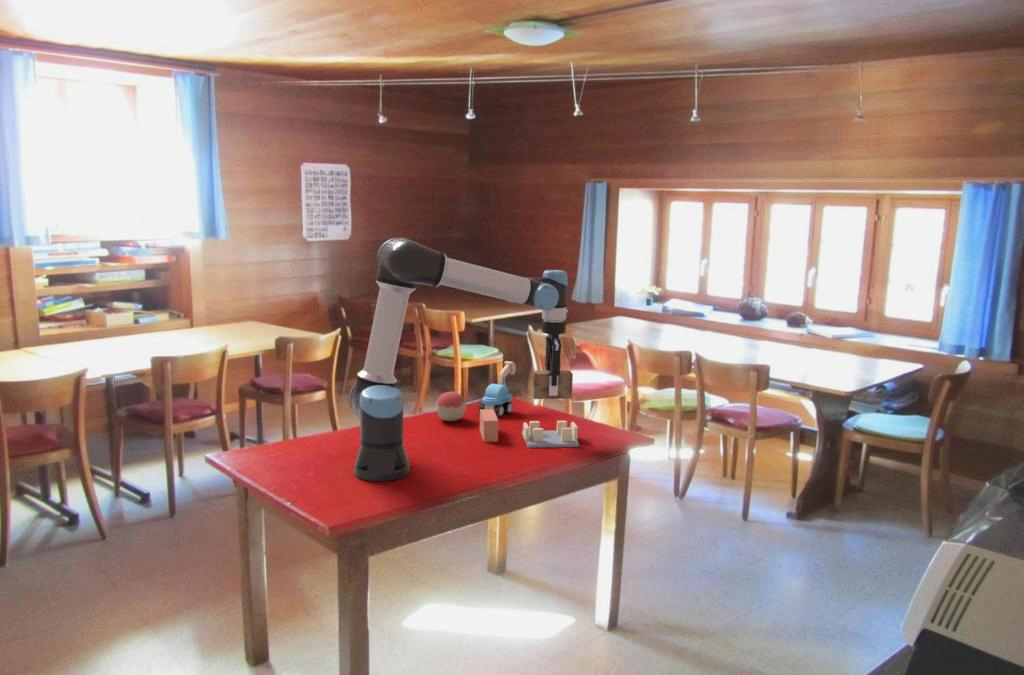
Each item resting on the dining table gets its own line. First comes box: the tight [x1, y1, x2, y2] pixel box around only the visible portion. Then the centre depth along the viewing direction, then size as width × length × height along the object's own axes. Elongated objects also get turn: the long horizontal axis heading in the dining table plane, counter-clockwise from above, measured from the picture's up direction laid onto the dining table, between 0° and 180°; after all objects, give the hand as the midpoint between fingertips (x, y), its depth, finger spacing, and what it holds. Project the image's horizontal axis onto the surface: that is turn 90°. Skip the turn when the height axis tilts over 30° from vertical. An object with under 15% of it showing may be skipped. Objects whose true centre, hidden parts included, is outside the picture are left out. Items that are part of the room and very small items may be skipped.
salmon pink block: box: [479, 409, 499, 443], centre depth 257 cm, size 4×13×7 cm, turn 8°
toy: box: [435, 391, 467, 422], centre depth 273 cm, size 10×12×10 cm
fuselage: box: [531, 370, 574, 400], centre depth 251 cm, size 12×4×8 cm, turn 97°
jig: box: [521, 420, 580, 449], centre depth 254 cm, size 16×14×5 cm
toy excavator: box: [478, 360, 517, 418], centre depth 285 cm, size 9×17×17 cm, turn 148°
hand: (551, 393), depth 252 cm, fingers closed on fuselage, 4 cm apart
